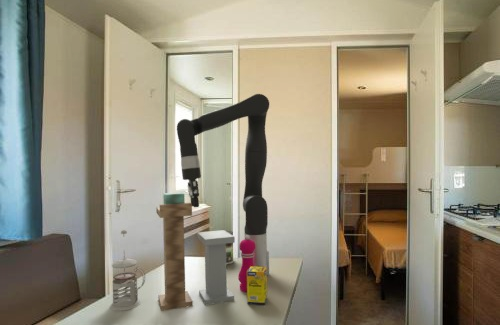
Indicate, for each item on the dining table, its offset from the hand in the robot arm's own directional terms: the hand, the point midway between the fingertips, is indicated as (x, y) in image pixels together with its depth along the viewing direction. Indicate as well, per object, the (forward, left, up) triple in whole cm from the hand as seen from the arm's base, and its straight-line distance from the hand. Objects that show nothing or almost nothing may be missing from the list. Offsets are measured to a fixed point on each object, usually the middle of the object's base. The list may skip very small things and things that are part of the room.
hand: (195, 206), depth 144 cm
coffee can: (-16, -18, -29) cm, 38 cm away
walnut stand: (+12, +23, -29) cm, 39 cm away
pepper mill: (-15, +21, -29) cm, 39 cm away
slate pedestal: (-2, +24, -29) cm, 38 cm away
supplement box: (-14, +33, -29) cm, 47 cm away
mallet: (+12, +18, +3) cm, 22 cm away
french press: (+27, +18, -29) cm, 44 cm away
